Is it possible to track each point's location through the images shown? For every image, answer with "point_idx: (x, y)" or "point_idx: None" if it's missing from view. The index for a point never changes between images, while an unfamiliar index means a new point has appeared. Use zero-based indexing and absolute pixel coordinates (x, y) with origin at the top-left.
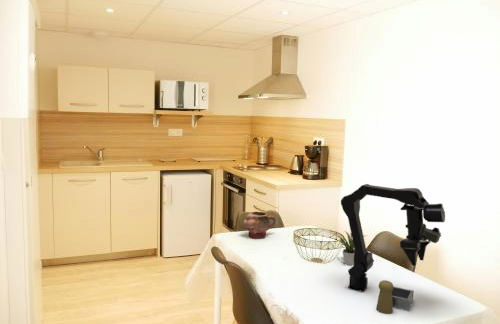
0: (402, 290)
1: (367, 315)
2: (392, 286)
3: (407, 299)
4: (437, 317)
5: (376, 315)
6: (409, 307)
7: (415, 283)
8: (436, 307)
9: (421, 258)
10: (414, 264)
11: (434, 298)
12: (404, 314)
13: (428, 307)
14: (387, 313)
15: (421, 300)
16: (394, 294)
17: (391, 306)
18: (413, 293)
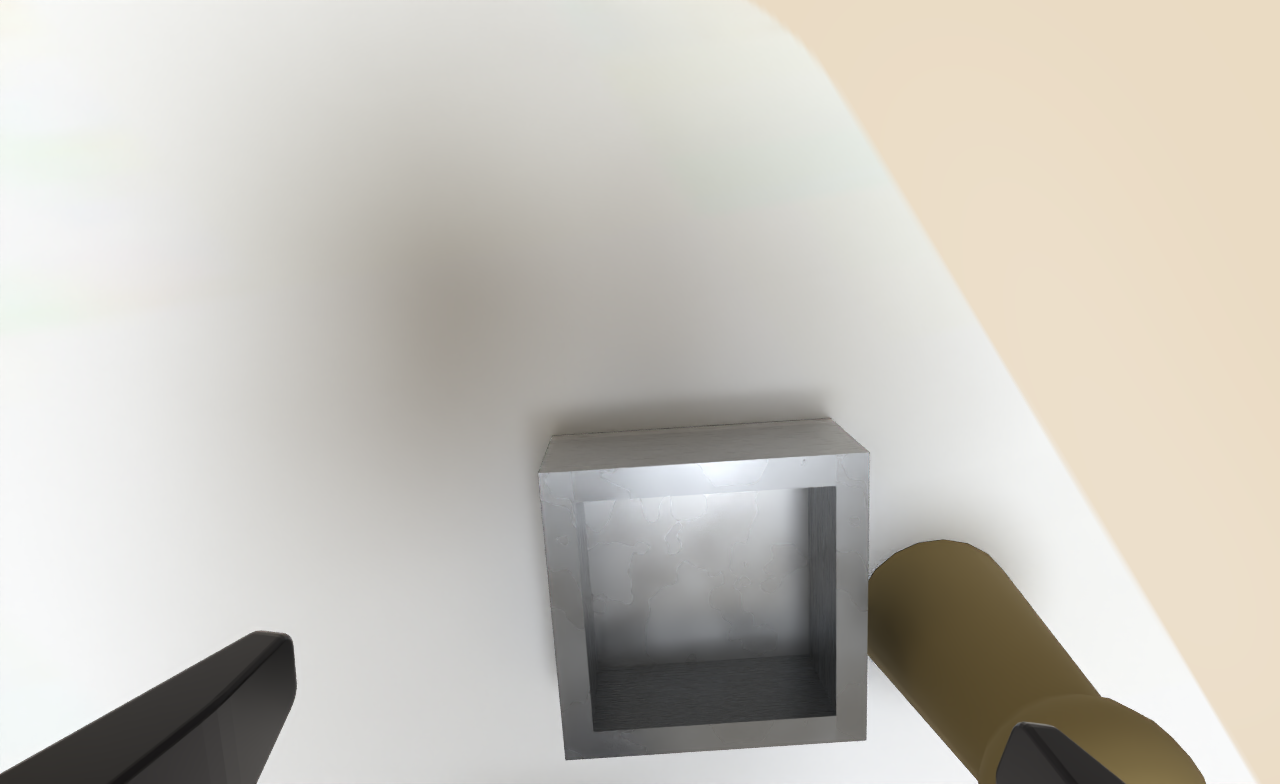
0: (583, 586)
1: (1118, 700)
2: (1143, 739)
3: (848, 481)
4: (812, 136)
5: (1080, 640)
6: (822, 427)
7: (41, 513)
8: (562, 187)
9: (262, 709)
10: (1073, 768)
11: (326, 248)
12: (926, 438)
13: (617, 264)
14: (1005, 573)
15: (481, 363)
16: (593, 628)
17: (993, 581)
18: (559, 462)
